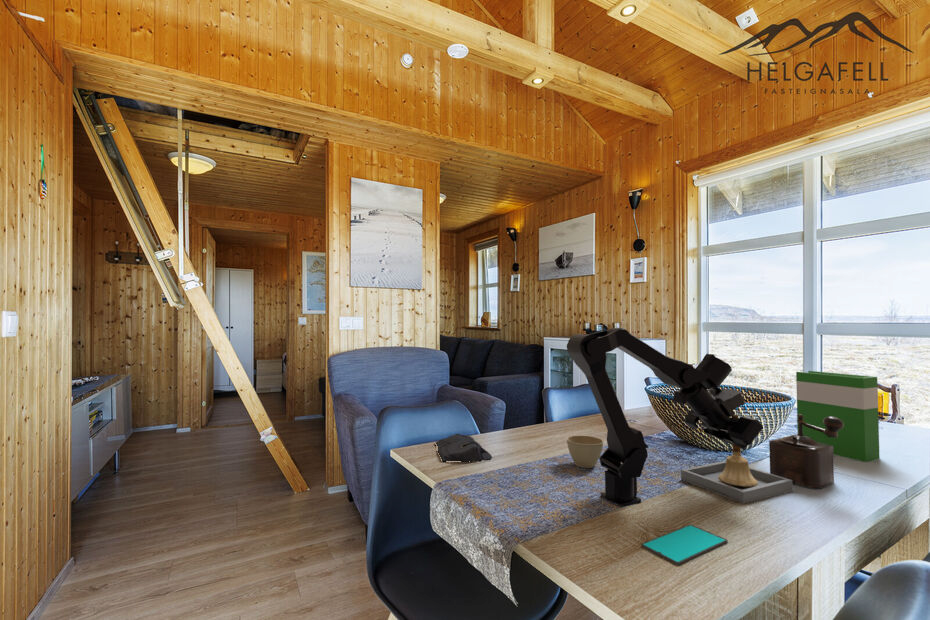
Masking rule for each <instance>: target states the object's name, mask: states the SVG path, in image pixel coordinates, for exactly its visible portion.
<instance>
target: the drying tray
mask: <svg viewBox="0 0 930 620" xmlns="http://www.w3.org/2000/svg"><path fill="white" fill-rule="evenodd" d="M725 466H726V460H724V461H719V462H714V463H709V464H703V465H698V466H694V467H689V468H683V469H682V468H681V469H680V480H681V481H683V482H685V483H689V484H692V485H694V486H696V487H699V488H702V489H704V488H705V489H704V490H707V491H710V492H713V493H714V492H715V494H717V493H718V494H717V495H720V496H722V497H725V498H727V499H730V500H733V501H736V502H738V503H741V504H743V505H744V504H747V503H751V502H755V501H758V500H763V499H767V498H770V497H775V496H778V495H781V494H785V493H790V492H792V491H794V490H793V485H794V484H792V480H790V479H787V478H784V477H780V476H777V475H774V474H771V473H770V472H768V471H764V470H760V469H758V468H757V469H756V468H753V467H750V466H749V470H750V472H751V474H752V476H753V477H754V479H756V480H757V482H758V485H757V486H753V487H744V486H736V485H731V484H728V483H725V482H722V481H720V480H719V479H718V476H719V475H720V474H721V473H722V472H723V471H724V469H725Z"/></svg>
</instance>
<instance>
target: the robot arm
mask: <svg viewBox="0 0 930 620" xmlns="http://www.w3.org/2000/svg"><path fill="white" fill-rule="evenodd" d="M566 349H567V352H568V355H569V356H570V357H571V359H572V361H573V362H574V364H575V365H576V366H577V368H578V369H580V371H581V372H582V373H583V374H584V375H585V378H586V380H587V381H586V382H588V386H589V387H590V390H591V392H592V395H593V398H594V400H595V402H596V404H597V407H598V409H599V412H600V415H601V417H602V419H603V421H604V424H605V427H606V429H607V431H606V432H607V433H606V434H607V435H606V444H607V448H606V450H604V452H603V453H601V455H600V457H599V459H598V461H599V463H600V466H601V467H603V468H605V469H607V470H605V471H604V492H601V493H600V497H602V498H604V499H606V500H608V501H610V502H612V503H613V504H615V505H618V506H619V507H622V506H628V505H632V504H637V503H640V502H642V498H641V497H638V478H641V476H642V473H643V469H644V467H645V463H646V461H647V458H648V457H649V456H648V455H649V453H648V450H647V449H649V446H648V444H647V443H646V441H645V437H644V434H643V433H642V431H641V430H639V429H636V428H634V427H631V426H630V425H629V424H628V421H627V418H626V416H625V413H624V411H623V407H622V406H621V404H620V400H619V399H618V396H617V394H616V392H615V389H614V386H613V384H612V382H611V379H610V377H609V374H608V372H607V369H606V366H607V353H609V352H612V351H614V350H615V349H618V350H620V351H622V352H624V353H625V354H627V355H628V356H630V357H632V358H634V360H636V361H638V362H640V363H641V364H643V365H644V366H646V367H648V368H649V369H650V370H651V371H652V372H653V374H654V376H655V377H657V379H659V380H660V381H661V382H662V384H664V385H667V386H671V387H677V388H678V389H679V390H674V391H673V397H672V402H674V403H676V404H681V405H686V404H687V406H688V407H689V408H690V410H689V411H688V413H687V414H686V415H685V416H684V423H685V424H686V425H687V427H689V428H690V429H694V430H697V429H698V428H699V426H700V427H702V428H704V429H703V433H704V434H707V435H709V436H712V437H713V438H716V439H718V440H720V441H723V442H724V443H727V444H729V445H731V446H733V444H734V445H736V446H738V447H740V449H741V450H745V449H746V448H747V446H751V445H752V443H753V442H754V440H755V439H757V437H758V435H759V434H760V433H761V431H762V430H763V429H764V425H763V424H762V423H761V422H760V421H759V419H756V418H753V417H749V416H740V417H739V418H736V417H732V416H733V415H736V412H735V411H734V410H736V409H738V408H739V407H741V406H744V405H745V403H746V402H745V399H744V397H743V393H742V392H741V391H740V390H738V389H731V388H720V386H721V385H722V384H723V382H724V381H725V380H726V379H727V377H728V376H729V375H730V374H731V373H732V371H733V368H732V366H731V365H730V364H729V363H728V362H726V361H724V360H723V359H721V358H719V357H716V356H715V355H714V354H712V353H706V354H705V355H704V356H703V358H702V360H701V361H700V362H699V364H697V365H696V367H695V366H693V365H692V364H689V363H687V362H686V361H685V362H684V361H682V360H679V359H676V358H674V357H673V358H672V357H670V356H667V355H665V354H663V353H662V352H660V351H658V350H657V349H655V348H654V347H652V346H651V345H649V344H647V342H644V341H643V340H641V339H639V338H638V337H637V336H635V335H633V334H632V333H630V331H628V329H625V328H623V327H610V328H608V329H606V330H602V331H597V332H593V333H588V334H585V333H581V334H580V333H576V334H573V335H572V336H570V338H569V339H568V341H567V344H566ZM699 421H701V423H700V425H699V426H698V424H697V423H698V422H699Z"/></svg>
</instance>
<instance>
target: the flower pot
mask: <svg viewBox="0 0 930 620" xmlns="http://www.w3.org/2000/svg"><path fill="white" fill-rule="evenodd" d="M566 444H567V448H568V451H569V454H570V456H571V459H572V461H573V463H574V464H575V465H576V466H577V467H580V468H585V469H591V468H594V467H595V465H596V464H597V462H599V458H600V456H601V455H602V451H603V447H604V440H603V439H602V438H600V437H596V436H591V435H582V434H581V435H578V434H577V435H571V436H568V437H566Z"/></svg>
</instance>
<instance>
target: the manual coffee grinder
mask: <svg viewBox="0 0 930 620" xmlns="http://www.w3.org/2000/svg"><path fill="white" fill-rule="evenodd" d="M797 417H798V420H796V423H797V422H798V431H797V433H796V434H791V435H789V436H788V435H787V436H784V437H780V438H776V439H772V440H769V443H768V445H769V446H768V447H769V449H768V450H769V473H771V474H774V475H777V476H780V477H784V478H787V479H790V480H792V484H793V485H797V486H801V487H806V488H810V489H813V490H818V489H823V488H826V487H829V486H831V485H832V484H834V482H835V476H834V475H835V473H834V472H835V471H834V465H835V463H834V454H833V446H832V445H828V444H823V443H819V442H816V441H815V440H814V439H812V438H810V437H807V436H804V434H803V425H804V426H806V427H808V428H811V429H814V430H817V431H820V432H823V433H824V434H825V435H827V436H828V437H833V438H837V437H838V435H837V432H838V431H839V430H841V429H842V428H843V426H844V423H843V421H842V420H840V419H839V418H837V417H834V416H829V417H826V418H824V419H823V423H824V425H825V427H826V429H825V430H824V429H822V428H819V427H816V426H813V425H809V424H807V423H805V422H804V420H803V418H804V417H803V415H801V414H799V415H798V416H797V415H796V418H797Z"/></svg>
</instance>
